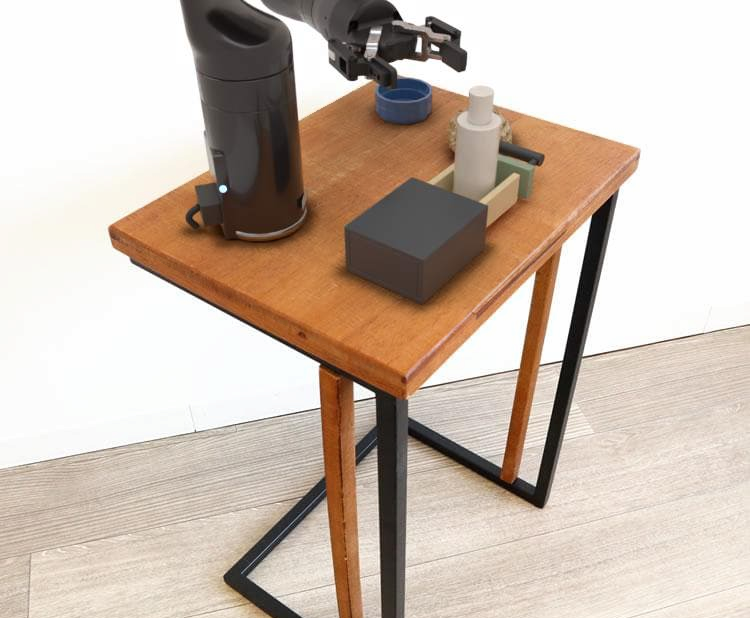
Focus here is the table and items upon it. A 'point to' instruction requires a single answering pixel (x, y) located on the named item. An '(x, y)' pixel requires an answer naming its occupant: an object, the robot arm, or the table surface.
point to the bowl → (404, 101)
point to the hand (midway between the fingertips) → (429, 71)
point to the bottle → (477, 146)
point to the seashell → (504, 134)
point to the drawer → (503, 178)
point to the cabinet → (415, 239)
